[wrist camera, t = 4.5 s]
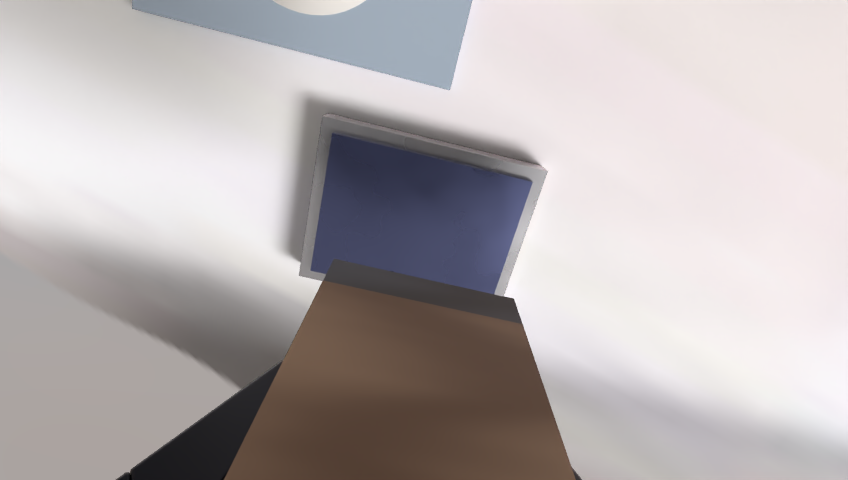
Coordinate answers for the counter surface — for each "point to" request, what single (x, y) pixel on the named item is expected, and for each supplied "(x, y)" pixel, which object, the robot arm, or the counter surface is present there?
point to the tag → (341, 30)
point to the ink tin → (416, 206)
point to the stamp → (404, 389)
